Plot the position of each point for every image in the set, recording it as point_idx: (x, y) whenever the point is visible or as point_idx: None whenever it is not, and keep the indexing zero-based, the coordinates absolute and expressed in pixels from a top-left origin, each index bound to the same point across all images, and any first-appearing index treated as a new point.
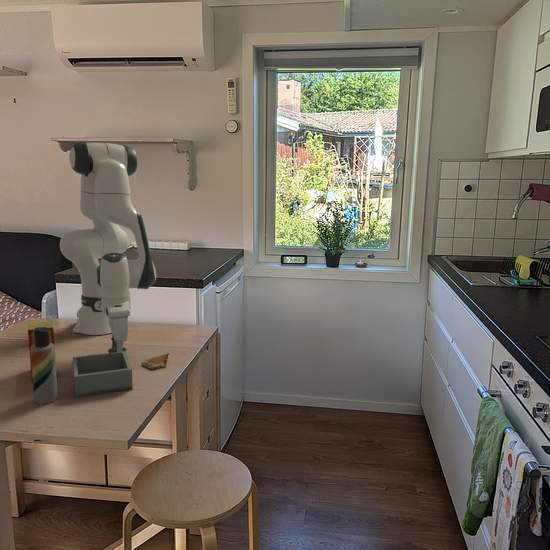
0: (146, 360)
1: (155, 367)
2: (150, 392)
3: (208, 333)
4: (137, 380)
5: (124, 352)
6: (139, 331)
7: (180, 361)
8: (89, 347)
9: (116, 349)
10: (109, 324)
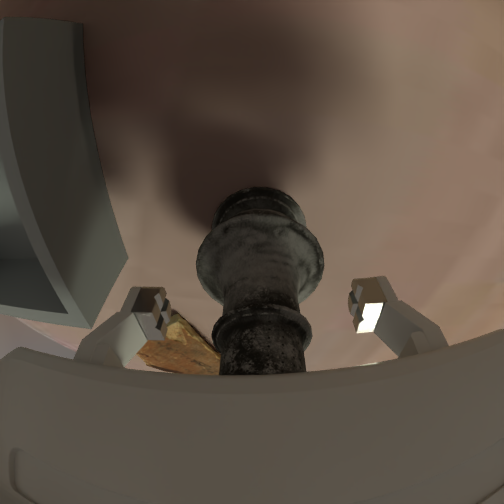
0: (183, 337)
1: None
2: None
3: None
4: None
5: (73, 322)
6: (497, 310)
7: None
8: (492, 124)
9: (159, 288)
10: (447, 378)
